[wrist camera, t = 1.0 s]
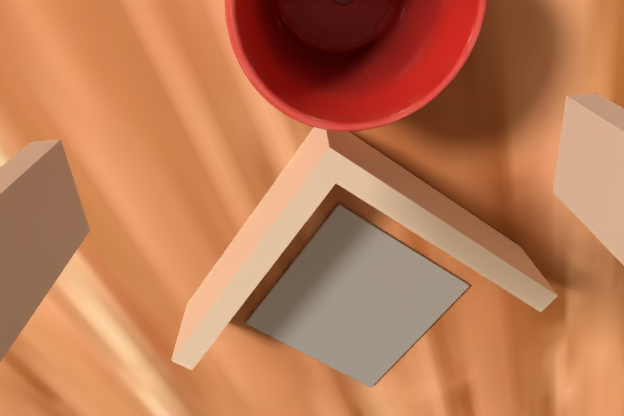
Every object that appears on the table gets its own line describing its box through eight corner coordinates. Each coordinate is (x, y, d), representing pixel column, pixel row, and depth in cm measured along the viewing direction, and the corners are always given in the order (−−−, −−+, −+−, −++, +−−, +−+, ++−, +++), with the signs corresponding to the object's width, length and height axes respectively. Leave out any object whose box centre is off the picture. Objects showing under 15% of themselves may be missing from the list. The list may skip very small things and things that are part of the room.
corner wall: (322, 114, 34) (329, 147, 28) (520, 246, 39) (557, 296, 33) (187, 303, 40) (171, 360, 34) (372, 397, 45) (384, 459, 39)
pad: (338, 203, 36) (339, 205, 36) (468, 283, 40) (469, 286, 40) (245, 321, 41) (245, 323, 40) (370, 384, 44) (371, 387, 44)
